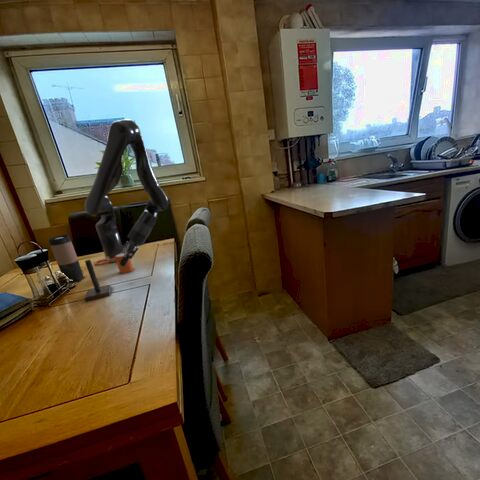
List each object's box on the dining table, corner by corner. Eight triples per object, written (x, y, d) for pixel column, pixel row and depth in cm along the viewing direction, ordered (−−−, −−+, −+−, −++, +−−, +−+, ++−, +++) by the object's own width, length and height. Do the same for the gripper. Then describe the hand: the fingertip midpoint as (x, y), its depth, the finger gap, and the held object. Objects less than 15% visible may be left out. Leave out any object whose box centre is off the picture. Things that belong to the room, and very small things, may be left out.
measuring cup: (131, 267, 133) (127, 251, 130) (134, 270, 129) (130, 254, 126) (98, 277, 126) (92, 260, 123) (100, 280, 121) (94, 263, 118)
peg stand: (89, 293, 109) (77, 259, 104) (111, 287, 112) (100, 255, 107) (86, 301, 102) (72, 266, 97) (109, 295, 105) (98, 261, 100)
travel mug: (88, 275, 129) (73, 234, 122) (76, 283, 122) (59, 239, 115) (73, 276, 130) (57, 235, 123) (60, 283, 123) (43, 240, 116)
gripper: (129, 226, 132) (109, 256, 130) (136, 230, 121) (115, 263, 119) (143, 234, 137) (124, 263, 135) (151, 238, 126) (131, 271, 124)
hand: (120, 263), depth 127 cm, fingers closed on measuring cup, 6 cm apart
